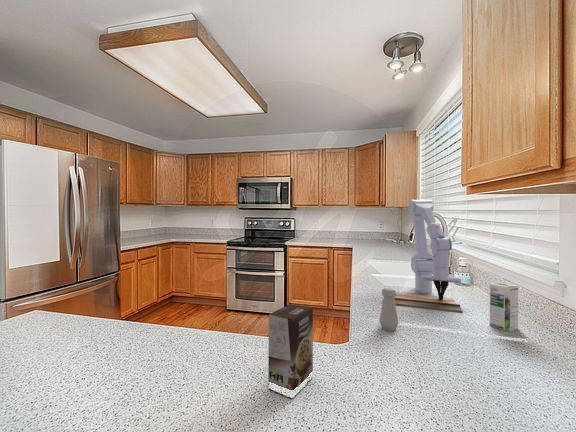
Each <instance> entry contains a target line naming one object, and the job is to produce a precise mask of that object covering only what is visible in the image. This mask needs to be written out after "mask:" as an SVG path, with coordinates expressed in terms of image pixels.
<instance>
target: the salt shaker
mask: <svg viewBox="0 0 576 432" xmlns="http://www.w3.org/2000/svg"><path fill="white" fill-rule="evenodd" d="M396 293H397V291H396V290H395V288H392V287H384V288H383V289H382V290H381V295H382V297H383V299H384V300H383V299H382V305H381V309H380V310H381V311H380V315H379V320H378V321H379V324H380V326H381V329H382V330H384V331H386V332H394V331H396V330H397V328H398V327H399V319H398V312H397V307H396V306H397V305H395V300H394V297H395V296H396Z"/></svg>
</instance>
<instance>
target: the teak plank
mask: <svg viewBox="0 0 576 432" xmlns="http://www.w3.org/2000/svg"><path fill="white" fill-rule="evenodd" d="M394 298H403V299H412V300H422V301H431V302H441V303H450V304H457V302H456V301H455V299H454V298H453V297H446V296H443V300H440V299H439V296H436V295H426V294H425V295H424V294H417V293H415V294H414V293H406V292H405V293H403V292H396V296H395V297H394Z"/></svg>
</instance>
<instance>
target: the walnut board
mask: <svg viewBox="0 0 576 432" xmlns="http://www.w3.org/2000/svg"><path fill="white" fill-rule="evenodd" d="M383 300H384V298H383V299H382V301H383ZM394 300H395V306H399V307H406V308H407V307H408V308H409V307H411V308H416V309H417V308H418V309H424V310H425V309H426V310H432V311H433V310H434V311H444V312H452V313H462V314H463V309H462V307H461V304H460V303H456V304H450V303H441V302H431V301H422V300H412V299H403V298H394Z"/></svg>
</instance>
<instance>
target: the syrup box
mask: <svg viewBox="0 0 576 432" xmlns="http://www.w3.org/2000/svg"><path fill="white" fill-rule="evenodd" d="M488 324H489V326H490V327H493V328H495V329H499V330H502V331H505V332H512V331H515V330H518V329H519V285H513V284H510V283H509V284H508V283H504V282H492V283H489V323H488Z"/></svg>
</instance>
